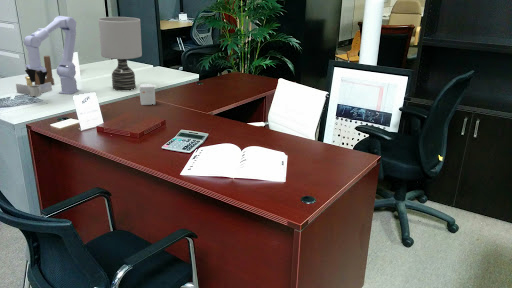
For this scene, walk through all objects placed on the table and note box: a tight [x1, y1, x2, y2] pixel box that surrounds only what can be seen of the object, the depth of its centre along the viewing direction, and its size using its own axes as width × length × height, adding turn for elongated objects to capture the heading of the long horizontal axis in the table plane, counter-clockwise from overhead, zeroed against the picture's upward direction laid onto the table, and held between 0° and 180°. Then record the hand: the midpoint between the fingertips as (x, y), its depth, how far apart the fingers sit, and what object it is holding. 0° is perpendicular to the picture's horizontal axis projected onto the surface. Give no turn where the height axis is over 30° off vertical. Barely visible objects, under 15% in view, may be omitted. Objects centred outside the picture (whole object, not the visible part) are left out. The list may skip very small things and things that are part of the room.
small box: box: [139, 83, 156, 106], centre depth 251 cm, size 8×6×10 cm
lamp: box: [97, 16, 143, 91], centre depth 273 cm, size 24×24×42 cm
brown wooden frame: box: [34, 55, 55, 86], centre depth 277 cm, size 4×11×18 cm, turn 100°
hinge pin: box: [24, 75, 34, 86], centre depth 267 cm, size 4×4×8 cm
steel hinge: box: [15, 82, 53, 97], centre depth 262 cm, size 16×16×5 cm
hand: (37, 83), depth 246 cm, fingers open, 7 cm apart
